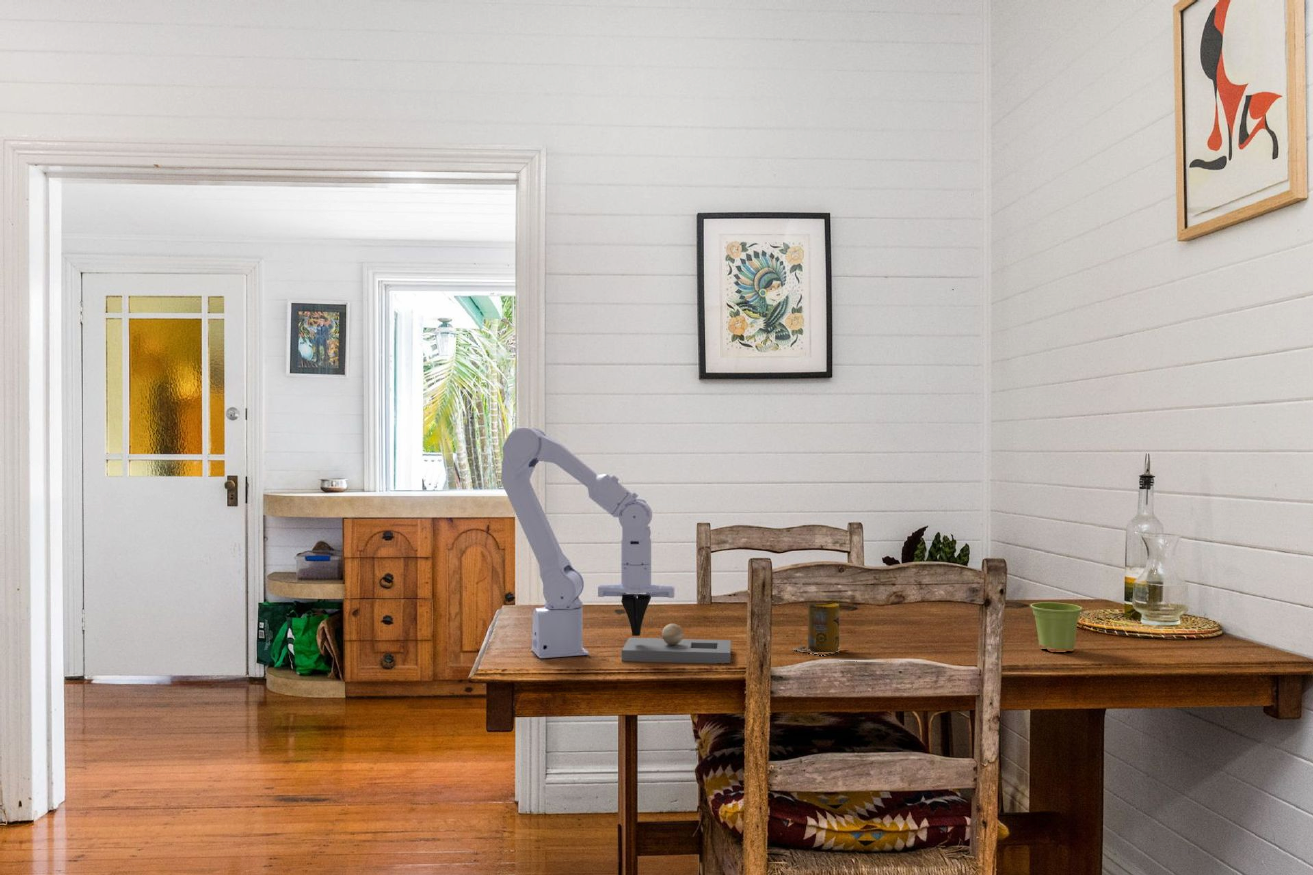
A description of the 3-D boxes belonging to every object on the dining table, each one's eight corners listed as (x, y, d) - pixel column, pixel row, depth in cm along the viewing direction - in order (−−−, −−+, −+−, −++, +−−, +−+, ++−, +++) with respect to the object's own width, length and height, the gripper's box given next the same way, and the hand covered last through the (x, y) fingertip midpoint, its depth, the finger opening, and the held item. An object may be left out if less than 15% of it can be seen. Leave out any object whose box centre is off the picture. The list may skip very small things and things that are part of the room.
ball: (666, 647, 168) (666, 626, 168) (659, 643, 172) (659, 622, 172) (686, 646, 170) (686, 624, 170) (678, 641, 173) (678, 621, 173)
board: (621, 660, 166) (621, 650, 166) (629, 647, 177) (629, 637, 177) (730, 663, 164) (730, 652, 164) (730, 650, 175) (730, 639, 175)
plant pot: (1030, 653, 174) (1030, 608, 174) (1030, 643, 183) (1029, 600, 183) (1084, 657, 170) (1083, 611, 170) (1080, 647, 179) (1080, 603, 179)
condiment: (848, 650, 176) (848, 588, 176) (822, 657, 170) (822, 593, 170) (817, 644, 181) (817, 584, 181) (791, 650, 175) (792, 589, 176)
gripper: (595, 565, 168) (595, 638, 168) (672, 566, 167) (672, 639, 167) (601, 561, 175) (601, 630, 175) (675, 561, 174) (675, 632, 174)
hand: (636, 634), depth 171 cm, fingers closed
